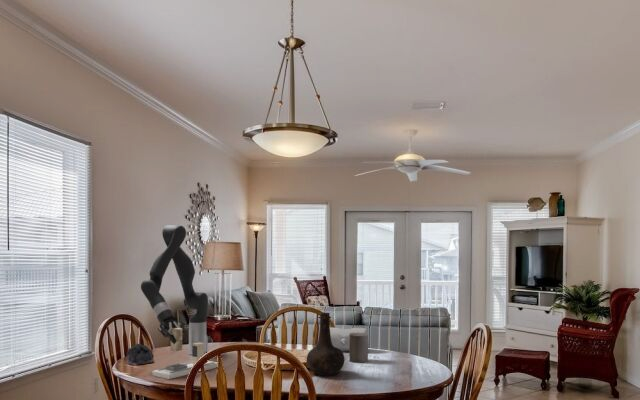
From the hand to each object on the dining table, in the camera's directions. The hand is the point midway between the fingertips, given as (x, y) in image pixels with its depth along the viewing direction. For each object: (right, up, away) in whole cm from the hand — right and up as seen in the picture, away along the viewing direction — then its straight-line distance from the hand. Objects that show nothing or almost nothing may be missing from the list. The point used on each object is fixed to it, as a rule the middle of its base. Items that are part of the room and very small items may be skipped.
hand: (179, 341), depth 270 cm
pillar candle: (+86, -16, +26) cm, 91 cm away
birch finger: (-2, -4, +1) cm, 5 cm away
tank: (+80, -18, +51) cm, 96 cm away
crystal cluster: (-26, -17, +25) cm, 40 cm away
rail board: (+2, -15, +5) cm, 16 cm away
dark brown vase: (+68, -15, -1) cm, 70 cm away
